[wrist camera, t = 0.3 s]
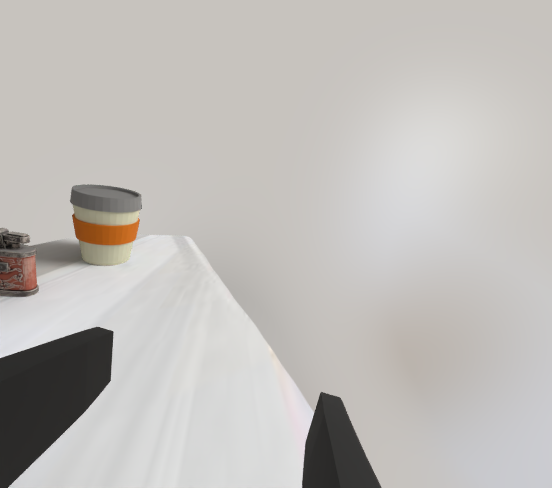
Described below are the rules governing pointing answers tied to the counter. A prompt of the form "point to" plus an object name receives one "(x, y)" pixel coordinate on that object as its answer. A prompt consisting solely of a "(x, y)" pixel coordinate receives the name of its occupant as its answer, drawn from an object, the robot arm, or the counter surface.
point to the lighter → (17, 265)
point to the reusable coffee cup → (105, 222)
